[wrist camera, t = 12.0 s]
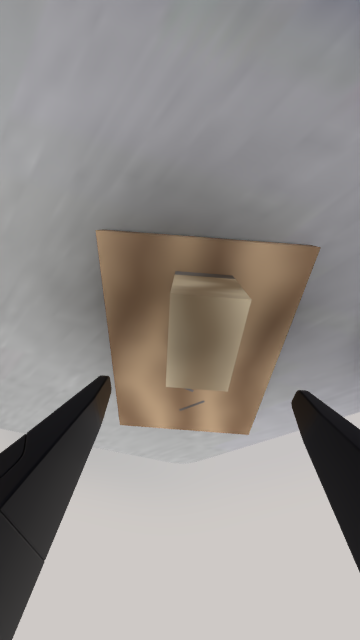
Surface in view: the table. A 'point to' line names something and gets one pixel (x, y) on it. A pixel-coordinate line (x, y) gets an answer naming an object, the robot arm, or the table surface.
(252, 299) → the light brown wooden board
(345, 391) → the table surface
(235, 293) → the block
